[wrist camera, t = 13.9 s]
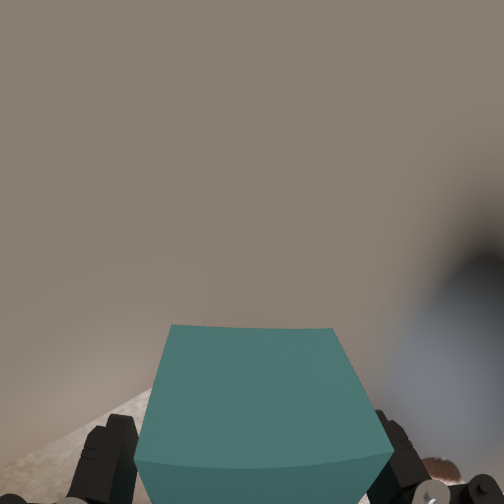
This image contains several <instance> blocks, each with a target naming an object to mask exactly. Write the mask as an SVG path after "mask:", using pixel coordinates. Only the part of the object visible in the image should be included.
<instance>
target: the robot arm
mask: <svg viewBox="0 0 504 504" xmlns="http://www.w3.org/2000/svg"><path fill="white" fill-rule="evenodd" d="M375 412H376V414H377V416H378V418H379V420H380V422H381V424H382V426H383V428H384V430H385V432H386V434H387V436H388V439H389V441H390V443H391V445H392V447H393V449H394V452H393V454H392V455H391V457H390V459H389V460H388V462H387V463H386V465H385V466H384V468H383V469H382V471H381V472H380V474H379V475H378V476H377V478H376V479H375V481H374V482H373V484H372V485H371V486H370V488H369V489H368V490H367V492H366V494H367V496H368V499H369V501H370V504H504V495H503V493H502V492H501V490H500V488H499V486H498V485H497V483H496V481H495V480H494V479H493V478H492V477H491V476H489V475H486V474H480V475H477V476H475V477H474V478H473V479H472V480H471V481H470V482H469V483H467V484H459V485H451V486H447V485H445V484H444V483H443V482H441V481H439V480H433V479H432V478H431V477H430V475H429V474H428V472H427V470H426V468H425V466H424V465H423V463H422V461H421V459H420V458H419V456H418V454H417V452H416V451H415V449H414V448H413V445H412V444H411V442H410V441H409V440H408V437H407V435H406V433H405V431H404V430H403V428H402V427H401V426H400V425H398V424H397V423H396V422H395V421H393V420H391V421H388V420H387V418H386V417H385V415H384V413H383V412H382V411H381V410H375ZM138 440H139V436H138V433H137V430H136V427H135V423H134V420H133V417H132V416H126V415H118V414H110V416H109V418H108V421H107V424H106V427H103V426H98V425H97V426H96V427H95V428H94V429H93V430H92V431H91V432H90V433H89V434H88V436H87V439H86V441H85V444H84V449H83V450H82V453H81V458H80V459H79V462H78V465H77V468H76V471H75V474H74V477H73V480H72V483H71V487H70V490H69V492H68V494H67V496H66V497H65V498H63V499H61V500H59V501H58V502H57V503H54V504H132V500H133V494H134V488H135V482H136V477H137V471H138V470H137V467H136V465H135V462H134V455H135V451H136V447H137V443H138ZM0 504H37V503H27V502H26V501H25V500H24V499H23V498H21V497H20V496H18V495H15V494H5V495H2V496H1V497H0Z"/></svg>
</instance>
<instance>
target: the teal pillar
mask: <svg viewBox="0 0 504 504" xmlns="http://www.w3.org/2000/svg"><path fill="white" fill-rule="evenodd" d="M393 452H394V449H393V447H392V445H391V443H390V441H389V439H388V436H387V434H386V432H385V430H384V428H383V426H382V424H381V422H380V420H379V418H378V416H377V414H376V412H375V410H374V408H373V406H372V404H371V402H370V400H369V398H368V396H367V394H366V392H365V390H364V388H363V386H362V384H361V382H360V381H359V378H358V377H357V375H356V373H355V371H354V369H353V367H352V365H351V363H350V361H349V359H348V357H347V355H346V353H345V351H344V350H343V348H342V346H341V344H340V342H339V340H338V338H337V336H336V334H335V332H334V331H333V329H332V328H328V329H259V328H226V327H204V326H187V325H171V328H170V331H169V335H168V338H167V341H166V344H165V347H164V351H163V354H162V358H161V361H160V364H159V367H158V371H157V374H156V378H155V381H154V385H153V388H152V392H151V395H150V399H149V402H148V406H147V409H146V413H145V417H144V420H143V424H142V428H141V432H140V436H139V440H138V443H137V447H136V451H135V455H134V462H135V465H136V467H137V470H138V472H139V475H140V477H141V479H142V482H143V484H144V486H145V489H146V491H147V493H148V496H149V498H150V500H151V502H152V504H358V502H359V501H360V500H361V498H362V497H363V496H364V494H365V493H366V492H367V490H368V489H369V488H370V486H371V485H372V484H373V482H374V481H375V479H376V478H377V476H378V475H379V474H380V472H381V471H382V469H383V468H384V466H385V465H386V463H387V462H388V460H389V459H390V457H391V455H392V454H393Z"/></svg>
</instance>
